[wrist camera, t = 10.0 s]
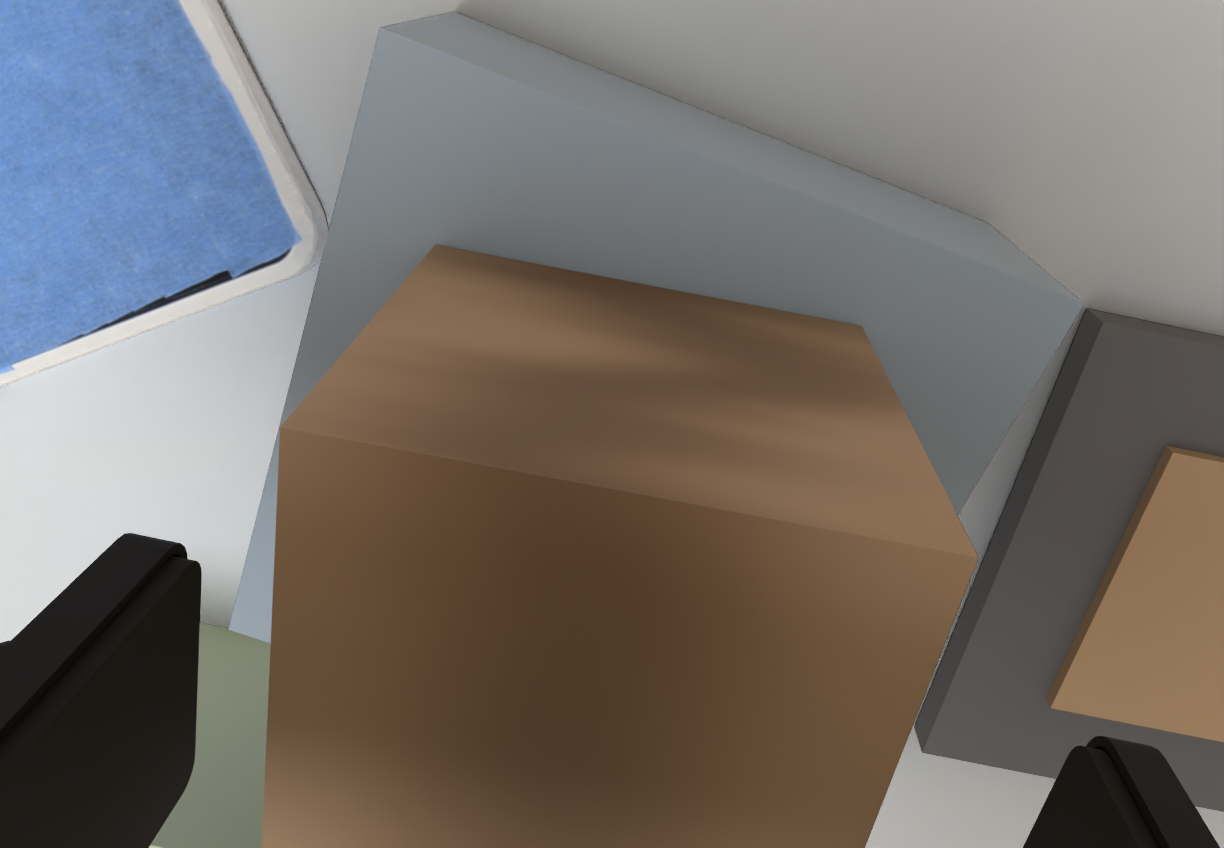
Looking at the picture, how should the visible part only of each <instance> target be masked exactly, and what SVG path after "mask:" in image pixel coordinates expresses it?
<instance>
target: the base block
mask: <svg viewBox="0 0 1224 848" xmlns="http://www.w3.org/2000/svg"><path fill="white" fill-rule="evenodd" d="M434 245H440V246H445V247H451V248H456V249H461V250H466V251H472V252H477V253H482V254H487V255H493V256H498V257H503V258H508V259H514V260H519V261H524V262H529V263H534V264H540V265H545V266H550V267H555V268H561V269H566V270H571V271H576V272H582V273H587V274H592V275H597V276H603V277H608V278H613V279H618V280H624V281H629V282H634V283H639V284H645V285H650V286H655V287H660V288H665V289H671V290H676V291H681V292H686V293H692V294H697V295H702V296H707V297H713V298H718V299H723V300H728V301H734V302H739V303H744V304H749V305H755V306H760V307H765V308H770V309H775V310H781V311H786V312H791V313H796V314H802V315H807V316H812V317H817V318H823V319H828V320H833V321H838V322H844V323H849V324H854V325H859V326H862V327H863V329H864V331H865V333H866V335H867V337H868V339H869V341H870V343H871V345H872V347H873V349H874V351H875V353H876V355H877V357H878V359H879V361H880V363H881V365H882V367H883V369H884V371H885V373H886V375H887V377H888V379H889V381H890V383H891V385H892V387H893V389H894V391H895V393H896V395H897V397H898V399H899V401H900V403H901V405H902V407H903V409H904V411H905V413H906V415H907V417H908V419H909V420H910V422H911V424H912V426H913V428H914V430H915V432H916V434H917V436H918V438H919V440H920V442H921V444H922V446H923V448H924V450H925V452H926V454H927V456H928V458H929V460H930V462H931V464H932V466H933V468H934V470H935V472H936V474H937V476H938V478H939V480H940V482H941V484H942V486H943V488H944V490H945V492H946V494H947V496H948V498H949V500H950V502H951V504H952V506H953V508H954V510H955V512H956V513H957V515H958V514H959V512H960V510H961V509H962V507H963V505H964V504H965V502H966V500H967V499H968V497H969V495H970V494H971V492H972V490H973V489H974V487H975V485H976V484H977V482H978V480H979V479H980V477H981V475H982V474H983V472H984V470H985V469H986V467H987V465H988V464H989V462H990V460H991V459H992V457H993V455H994V454H995V452H996V450H997V449H998V447H999V445H1000V444H1001V442H1002V440H1003V439H1004V437H1005V435H1006V434H1007V432H1008V430H1009V429H1010V427H1011V425H1012V424H1013V422H1014V420H1015V419H1016V417H1017V415H1018V414H1019V412H1020V410H1021V409H1022V407H1023V405H1024V404H1025V402H1026V400H1027V399H1028V397H1029V395H1030V394H1031V392H1032V390H1033V389H1034V387H1035V385H1036V384H1037V382H1038V380H1039V379H1040V377H1041V375H1042V374H1043V372H1044V370H1045V369H1046V367H1047V365H1048V364H1049V362H1050V360H1051V359H1052V357H1053V355H1054V354H1055V352H1056V350H1057V349H1058V347H1059V345H1060V344H1061V342H1062V340H1063V339H1064V337H1065V335H1066V334H1067V332H1068V330H1069V329H1070V327H1071V325H1072V324H1073V322H1074V320H1075V319H1076V317H1077V315H1078V314H1079V312H1080V310H1081V309H1082V307H1083V305H1084V303H1083V302H1082V301H1081V300H1080V299H1078V298H1077V297H1076V296H1075V295H1074V294H1072V293H1071V292H1070V291H1069V290H1068V289H1066V288H1065V287H1064V286H1063V285H1062V284H1060V283H1059V282H1058V281H1057V280H1056V279H1055V278H1053V277H1052V276H1051V275H1050V274H1049V273H1047V272H1046V271H1045V270H1044V269H1043V268H1041V267H1040V266H1039V265H1038V264H1037V263H1035V262H1034V261H1033V260H1032V259H1031V258H1029V257H1028V256H1027V255H1026V254H1025V253H1023V252H1022V251H1021V250H1020V249H1019V248H1017V247H1016V246H1015V245H1014V244H1013V243H1011V242H1010V241H1009V240H1008V239H1007V238H1005V237H1004V236H1003V235H1002V234H1001V233H1000V232H998V231H997V230H996V229H995V228H994V227H992V226H991V225H990V224H989V223H987V222H984V221H982V220H979V219H977V218H974V217H971V216H969V215H966V214H964V213H961V212H959V211H956V210H954V209H951V208H949V207H946V206H944V205H941V204H939V203H936V202H934V201H931V200H929V199H926V198H924V197H921V196H919V195H916V194H913V193H911V192H908V191H906V190H903V189H901V188H898V187H896V186H893V185H891V184H888V183H886V182H883V181H881V180H878V179H876V178H873V177H871V176H868V175H866V174H863V173H861V172H858V171H855V170H853V169H850V168H848V167H845V166H843V165H840V164H838V163H835V162H833V161H830V160H828V159H825V158H823V157H820V156H818V155H815V154H813V153H810V152H808V151H805V150H803V149H800V148H797V147H795V146H792V145H790V144H787V143H785V142H782V141H780V140H777V139H775V138H772V137H770V136H767V135H765V134H762V133H760V132H757V131H755V130H752V129H750V128H747V127H745V126H742V125H739V124H737V123H734V122H732V121H729V120H727V119H724V118H722V117H719V116H717V115H714V114H712V113H709V112H707V111H704V110H702V109H699V108H697V107H694V106H692V105H689V104H687V103H684V102H681V101H679V100H676V99H674V98H671V97H669V96H666V95H664V94H661V93H659V92H656V91H654V90H651V89H649V88H646V87H644V86H641V85H639V84H636V83H634V82H631V81H629V80H626V79H623V78H621V77H618V76H616V75H613V74H611V73H608V72H606V71H603V70H601V69H598V68H596V67H593V66H591V65H588V64H586V63H583V62H581V61H578V60H576V59H573V58H571V57H568V56H565V55H563V54H560V53H558V52H555V51H553V50H550V49H548V48H545V47H543V46H540V45H538V44H535V43H533V42H530V41H528V40H525V39H523V38H520V37H518V36H515V35H513V34H510V33H507V32H505V31H502V30H500V29H497V28H495V27H492V26H490V25H487V24H485V23H482V22H480V21H477V20H475V19H472V18H470V17H467V16H465V15H462V14H460V13H457V12H455V11H454V12H449V13H445V14H440V15H436V16H431V17H426V18H422V19H417V20H412V21H408V22H403V23H398V24H394V25H389V26H384V27H380V29H379V33H378V37H377V41H376V45H375V49H374V53H373V57H372V61H371V65H370V69H369V73H368V77H367V81H366V84H365V88H364V92H363V96H362V100H361V104H360V108H359V112H358V116H357V120H356V124H355V128H354V132H353V136H352V140H351V144H350V148H349V152H348V156H347V160H346V164H345V168H344V172H343V176H342V180H341V184H340V188H339V192H338V196H337V200H336V204H335V207H334V211H333V215H332V219H331V223H330V227H329V231H328V235H327V239H326V243H325V247H324V251H323V255H322V259H321V263H320V267H319V271H318V275H317V279H316V283H315V287H314V291H313V295H312V299H311V303H310V307H309V311H308V315H307V319H306V323H305V327H304V331H303V334H302V338H301V342H300V346H299V350H298V354H297V358H296V362H295V366H294V370H293V374H292V378H291V382H290V386H289V390H288V394H287V398H286V402H285V406H284V410H283V414H282V418H281V422H280V426H279V430H278V434H277V438H276V442H275V446H274V450H273V454H272V457H271V461H270V465H269V469H268V473H267V477H266V481H265V485H264V489H263V493H262V497H261V501H260V505H259V509H258V513H257V517H256V521H255V525H254V529H253V533H252V537H251V541H250V545H249V549H248V553H247V557H246V561H245V565H244V569H243V573H242V577H241V581H240V584H239V588H238V592H237V596H236V600H235V604H234V608H233V612H232V616H231V620H230V624H229V628H228V630H231V631H234V632H237V633H240V634H243V635H246V636H249V637H252V638H256V639H259V640H262V641H265V642H268V643H271V623H272V601H273V578H274V555H275V532H276V509H277V487H278V464H279V441H280V427H281V426H282V424H283V423H284V422H285V421H286V420H287V419H288V417H289V416H290V415H291V414H292V413H293V412H294V410H295V409H296V408H297V407H298V406H299V404H300V403H301V402H302V401H303V400H304V399H305V397H306V396H307V395H308V394H309V393H310V391H311V390H312V389H313V388H314V387H315V386H316V384H317V383H318V382H319V381H320V380H321V379H322V377H323V376H324V375H325V374H326V373H327V371H328V370H329V369H330V368H331V367H332V366H333V364H334V363H335V362H336V361H337V360H338V359H339V357H340V356H341V355H342V354H343V353H344V351H345V350H346V349H347V348H348V347H349V346H350V344H351V343H352V342H353V341H354V340H355V338H356V337H357V336H358V335H359V334H360V333H361V331H362V330H363V329H364V328H365V327H366V326H367V324H368V323H369V322H370V321H371V320H372V318H373V317H374V316H375V315H376V314H377V313H378V311H379V310H380V309H381V308H382V307H383V306H384V304H385V303H386V302H387V301H388V300H389V298H390V297H391V296H392V295H393V294H394V293H395V291H396V290H397V289H398V288H399V287H400V285H401V284H402V283H403V282H404V281H405V280H406V278H407V277H408V276H409V275H410V274H411V273H412V271H413V270H414V269H415V268H416V267H417V265H418V264H419V263H420V262H421V261H422V260H423V258H424V257H425V256H426V255H427V254H428V253H429V251H430V250H431V249H432V248H433V247H434Z"/></svg>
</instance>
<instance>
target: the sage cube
mask: <svg viewBox="0 0 1224 848" xmlns="http://www.w3.org/2000/svg"><path fill="white" fill-rule="evenodd" d="M270 646H271V643H268V642H265V641H262V640H259V639H256V638H252V637H249V636H246V635H243V634H240V633H237V632H234V631H231V630H228V628H226V627H220V626H215V625H210V624H205V623H200V631H199V660H198V689H197V718H196V748H195V761H194V766H193V770H192V774H191V777H190V780H189V782H188V784H187V787H186V789H185V791H184V792H183V794H182V796H181V798H180V799H179V801H178V802H177V804H176V805H175V807H174V809H173V810H172V812H171V813H170V815H169V816H168V818H167V820H166V821H165V823H164V824H163V826H162V827H161V829H160V831H159V832H158V834H157V835H156V837H155V838H154V840H153V842H152V843H151V845H150V846H149V848H262V829H263V806H264V783H265V760H266V738H267V715H268V692H269V669H270Z"/></svg>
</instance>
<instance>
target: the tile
mask: <svg viewBox="0 0 1224 848" xmlns="http://www.w3.org/2000/svg"><path fill="white" fill-rule="evenodd" d="M914 728H915V731H916V734H917V737H918V741H919V744H920V747H921V750H922V753H927V754H932V755H937V756H942V757H948V758H953V759H958V760H963V761H968V762H973V763H978V764H983V765H988V766H993V767H999V768H1004V769H1009V770H1014V771H1019V772H1024V773H1029V774H1034V775H1039V776H1045V777H1050V778H1055V779H1057V777H1058V775H1059V773H1060V771H1061V769H1062V767H1063V765H1064V763H1065V761H1066V758H1067V756H1068V755H1069V753H1070V752H1071V750H1072V749H1073V748H1075V747H1076V746H1085V747H1086V745H1087V744H1088V742H1089V741H1090V740H1091V739H1093V738H1094V737H1096V736H1106V737H1110V738H1115V739H1120V740H1125V741H1130V742H1134V743H1139V744H1144V745H1149V746H1152V747H1154V748H1156V749H1158V750H1159V751H1160V752H1161V753H1162V754H1163V756H1164V757H1165V758H1166V760H1167V762H1168V763H1169V765H1170V767H1171V768H1172V770H1173V772H1174V773H1175V775H1176V776H1177V778H1178V780H1179V781H1180V783H1181V785H1182V786H1183V788H1184V790H1185V791H1186V793H1187V794H1188V796H1189V798H1190V799H1191V801H1192V803H1193V804H1194V806H1198V807H1203V808H1208V809H1213V810H1218V811H1223V812H1224V337H1221V336H1217V335H1212V334H1207V333H1202V332H1197V331H1193V330H1188V329H1183V328H1178V327H1173V326H1168V325H1164V324H1159V323H1154V322H1149V321H1144V320H1140V319H1135V318H1130V317H1125V316H1120V315H1116V314H1111V313H1106V312H1101V311H1096V310H1091V309H1086V311H1085V314H1084V316H1083V319H1082V321H1081V323H1080V326H1079V328H1078V331H1077V333H1076V336H1075V338H1074V340H1073V343H1072V345H1071V348H1070V350H1069V353H1068V355H1067V358H1066V360H1065V362H1064V365H1063V367H1062V370H1061V372H1060V375H1059V377H1058V379H1057V382H1056V384H1055V387H1054V389H1053V392H1052V394H1051V396H1050V399H1049V401H1048V404H1047V406H1046V409H1045V411H1044V413H1043V416H1042V418H1041V421H1040V423H1039V426H1038V428H1037V430H1036V433H1035V435H1034V438H1033V440H1032V443H1031V445H1030V447H1029V450H1028V452H1027V455H1026V457H1025V460H1024V462H1023V464H1022V467H1021V469H1020V472H1019V474H1018V477H1017V479H1016V481H1015V484H1014V486H1013V489H1012V491H1011V494H1010V496H1009V498H1008V501H1007V503H1006V506H1005V508H1004V511H1003V513H1002V516H1001V518H1000V520H999V523H998V525H997V528H996V530H995V533H994V535H993V537H992V540H991V542H990V545H989V547H988V550H987V552H986V554H985V557H984V559H983V562H982V564H981V567H980V569H979V571H978V574H977V576H976V579H975V581H974V584H973V586H972V588H971V591H970V593H969V596H968V598H967V601H966V603H965V605H964V608H963V610H962V613H961V615H960V618H959V620H958V622H957V625H956V627H955V630H954V632H953V635H952V637H951V639H950V642H949V644H948V647H947V649H946V652H945V654H944V657H943V659H942V661H941V664H940V666H939V669H938V671H937V674H936V676H935V678H934V681H933V683H932V686H931V688H930V691H929V693H928V695H927V698H926V700H925V703H924V705H923V708H922V710H921V712H920V715H919V717H918V720H917V722H916V725H915V727H914Z"/></svg>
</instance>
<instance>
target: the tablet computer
mask: <svg viewBox="0 0 1224 848" xmlns="http://www.w3.org/2000/svg"><path fill="white" fill-rule="evenodd" d="M327 235H328V224H327V220H326V216H325V213H324V210H323V208H322V205H321V203H320V201H319V199H318V197H317V195H316V193H315V191H314V189H313V187H312V185H311V183H310V181H309V179H308V177H307V175H306V174H305V172H304V170H303V168H302V166H301V164H300V162H299V160H298V158H297V156H296V154H295V152H294V150H293V148H292V146H291V144H290V142H289V140H288V138H287V136H286V134H285V132H284V130H283V128H282V126H281V124H280V122H279V120H278V118H277V116H276V114H275V112H274V110H273V108H272V107H271V105H270V103H269V101H268V99H267V97H266V95H265V93H264V91H263V89H262V87H261V85H260V83H259V81H258V79H257V77H256V76H255V74H254V72H253V70H252V68H251V66H250V64H249V62H248V60H247V58H246V56H245V54H244V52H243V50H242V48H241V46H240V44H239V42H238V40H237V38H236V36H235V34H234V32H233V30H232V28H231V26H230V25H229V23H228V21H227V19H226V17H225V15H224V13H223V11H222V9H221V7H220V5H219V3H218V1H217V0H0V387H1V386H5V385H8V384H10V383H13V382H15V381H18V380H20V379H23V378H25V377H28V376H31V375H33V374H35V373H37V372H40V371H43V370H46V369H48V368H51V367H54V366H57V365H60V364H62V363H65V362H68V361H71V360H73V359H76V358H78V357H81V356H84V355H86V354H89V353H91V352H94V351H96V350H99V349H101V348H104V347H107V346H109V345H112V344H115V343H118V342H121V341H124V340H127V339H129V338H132V337H134V336H136V335H138V334H141V333H144V332H146V331H149V330H152V329H155V328H157V327H160V326H163V325H166V324H169V323H171V322H174V321H176V320H179V319H181V318H183V317H186V316H189V315H192V314H195V313H197V312H200V311H203V310H206V309H209V308H211V307H214V306H216V305H219V304H221V303H224V302H227V301H230V300H232V299H235V298H238V297H241V296H244V295H246V294H249V293H252V292H254V291H257V290H259V289H262V288H265V287H267V286H270V285H273V284H276V283H279V282H282V281H285V280H287V279H290V278H293V277H296V276H299V275H300V274H302V273H304V272H306V271H308V270H309V269H311V268H312V267H313V266H314V265H315V264H316V263H317V262H318V261H319V260H320V259H321V258H322V255H323V251H324V247H325V243H326V239H327Z"/></svg>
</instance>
